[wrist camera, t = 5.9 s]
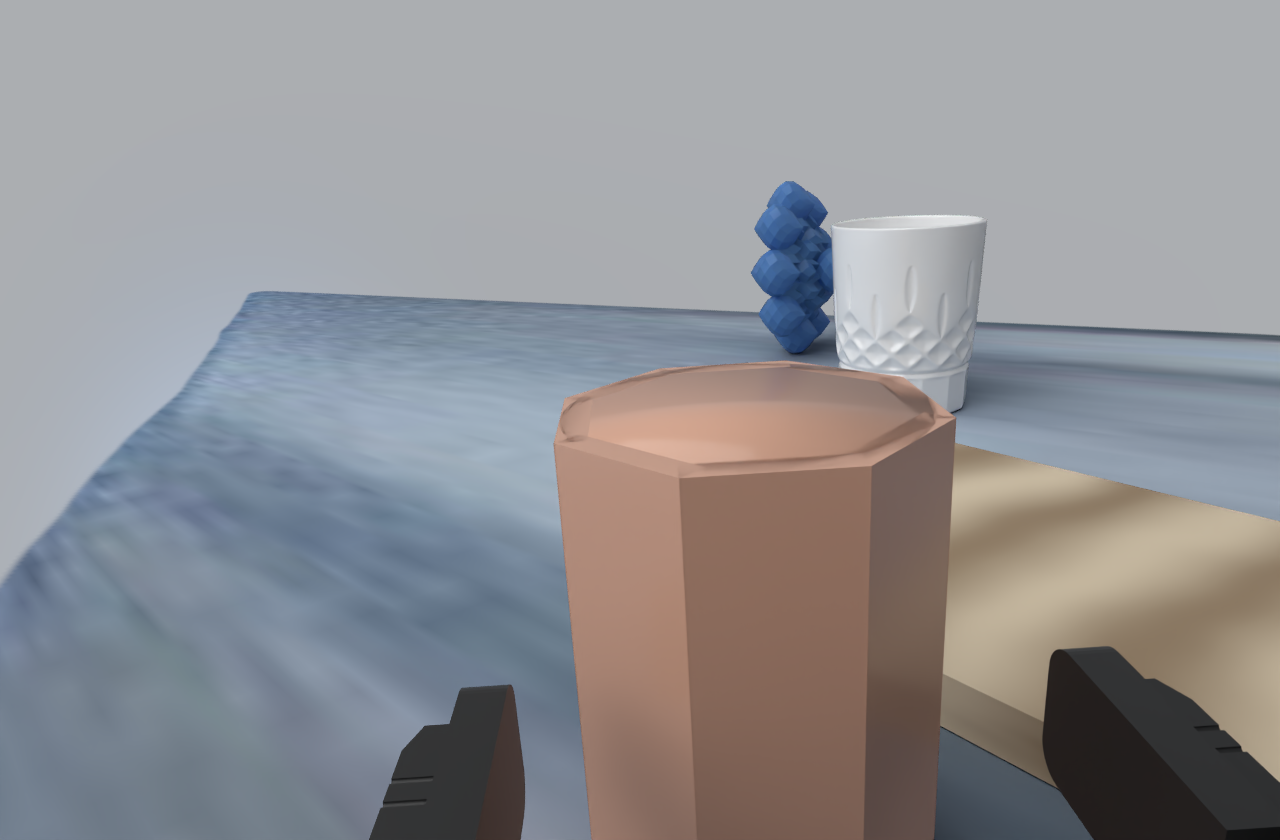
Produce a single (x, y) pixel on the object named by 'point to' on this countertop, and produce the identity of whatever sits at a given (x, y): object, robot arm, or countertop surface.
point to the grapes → (794, 266)
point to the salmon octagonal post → (758, 601)
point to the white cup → (909, 298)
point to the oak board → (1103, 601)
